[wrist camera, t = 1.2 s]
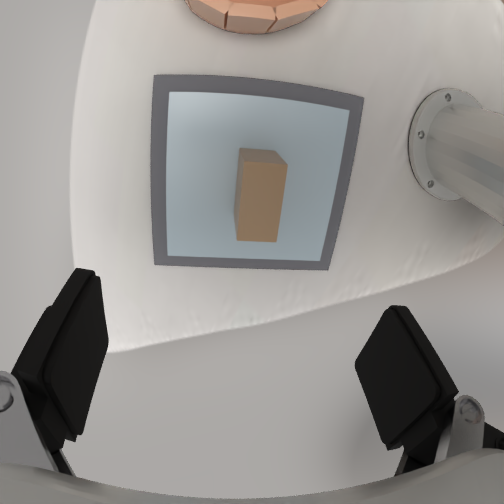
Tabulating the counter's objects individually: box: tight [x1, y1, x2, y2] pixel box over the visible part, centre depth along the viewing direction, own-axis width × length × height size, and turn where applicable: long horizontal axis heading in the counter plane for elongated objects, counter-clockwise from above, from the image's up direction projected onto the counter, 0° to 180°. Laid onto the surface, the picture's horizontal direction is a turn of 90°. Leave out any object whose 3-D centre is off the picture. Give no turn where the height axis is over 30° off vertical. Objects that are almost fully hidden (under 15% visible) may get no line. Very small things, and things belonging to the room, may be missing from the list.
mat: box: [151, 75, 364, 270], centre depth 26 cm, size 18×18×1 cm
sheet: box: [166, 92, 350, 261], centre depth 24 cm, size 15×15×6 cm
